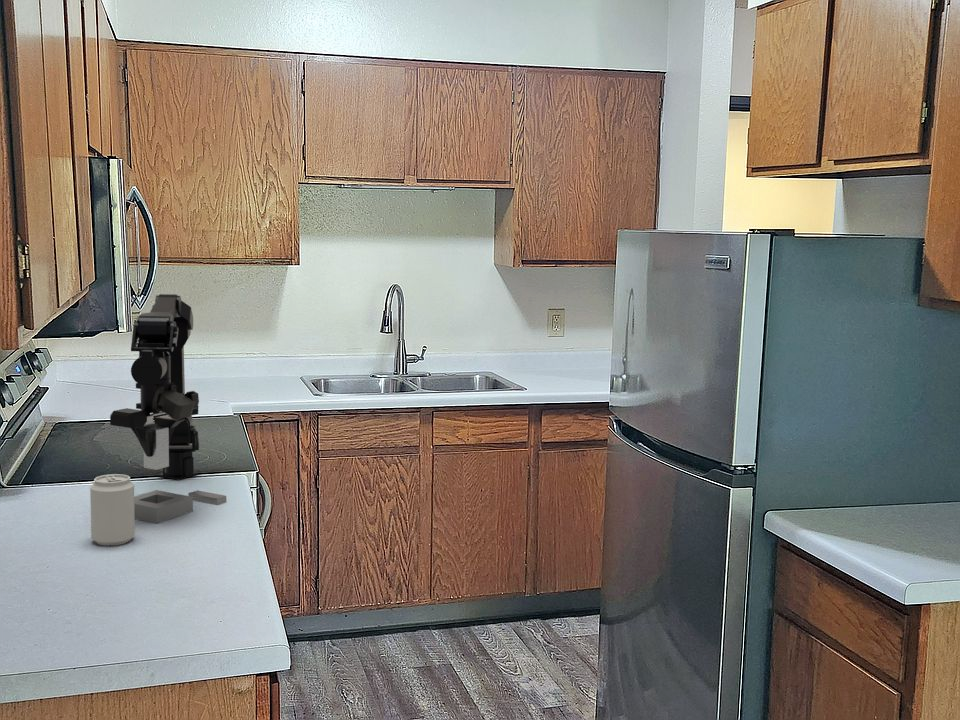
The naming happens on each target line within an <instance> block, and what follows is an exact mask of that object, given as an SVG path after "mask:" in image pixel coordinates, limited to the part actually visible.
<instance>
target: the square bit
mask: <svg viewBox="0 0 960 720" xmlns="http://www.w3.org/2000/svg"><path fill="white" fill-rule="evenodd" d="M168 466H169V428H168V427H162V426H157V427H156V429H155V430H154V432H153V452H152V456H151V457H148V456H146V454H145V452H144V451H143V468H144V469H151V470H154V471H155V470H161V469H163V468H165V467H168Z"/></svg>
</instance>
